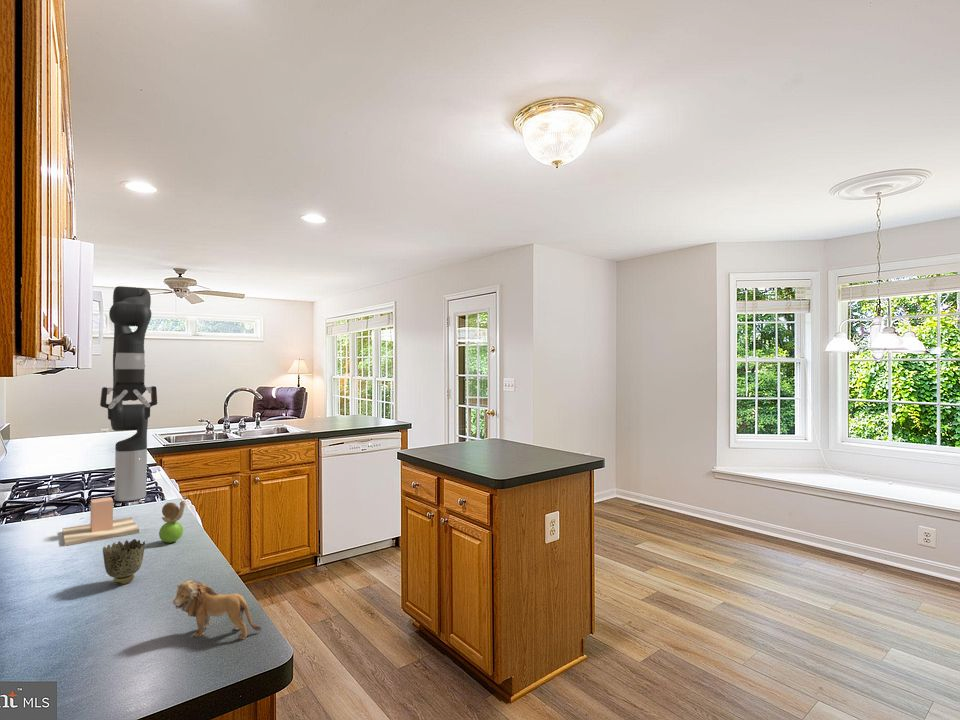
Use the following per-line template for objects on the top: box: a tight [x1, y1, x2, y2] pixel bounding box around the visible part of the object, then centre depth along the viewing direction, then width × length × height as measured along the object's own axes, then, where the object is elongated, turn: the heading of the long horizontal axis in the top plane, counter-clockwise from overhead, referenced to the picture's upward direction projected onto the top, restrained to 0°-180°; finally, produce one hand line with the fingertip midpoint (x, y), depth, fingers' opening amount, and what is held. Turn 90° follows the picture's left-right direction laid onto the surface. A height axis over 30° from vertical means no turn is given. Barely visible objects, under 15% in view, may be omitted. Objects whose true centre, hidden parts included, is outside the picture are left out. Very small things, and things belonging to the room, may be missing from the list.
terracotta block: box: [89, 496, 114, 532], centre depth 140 cm, size 5×5×8 cm
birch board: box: [62, 517, 140, 547], centre depth 140 cm, size 15×16×1 cm
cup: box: [102, 538, 146, 586], centre depth 107 cm, size 8×7×8 cm
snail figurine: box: [158, 495, 187, 544], centre depth 132 cm, size 5×6×12 cm
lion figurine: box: [172, 579, 263, 640], centre depth 87 cm, size 15×5×9 cm, turn 92°
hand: (129, 420), depth 154 cm, fingers open, 8 cm apart
